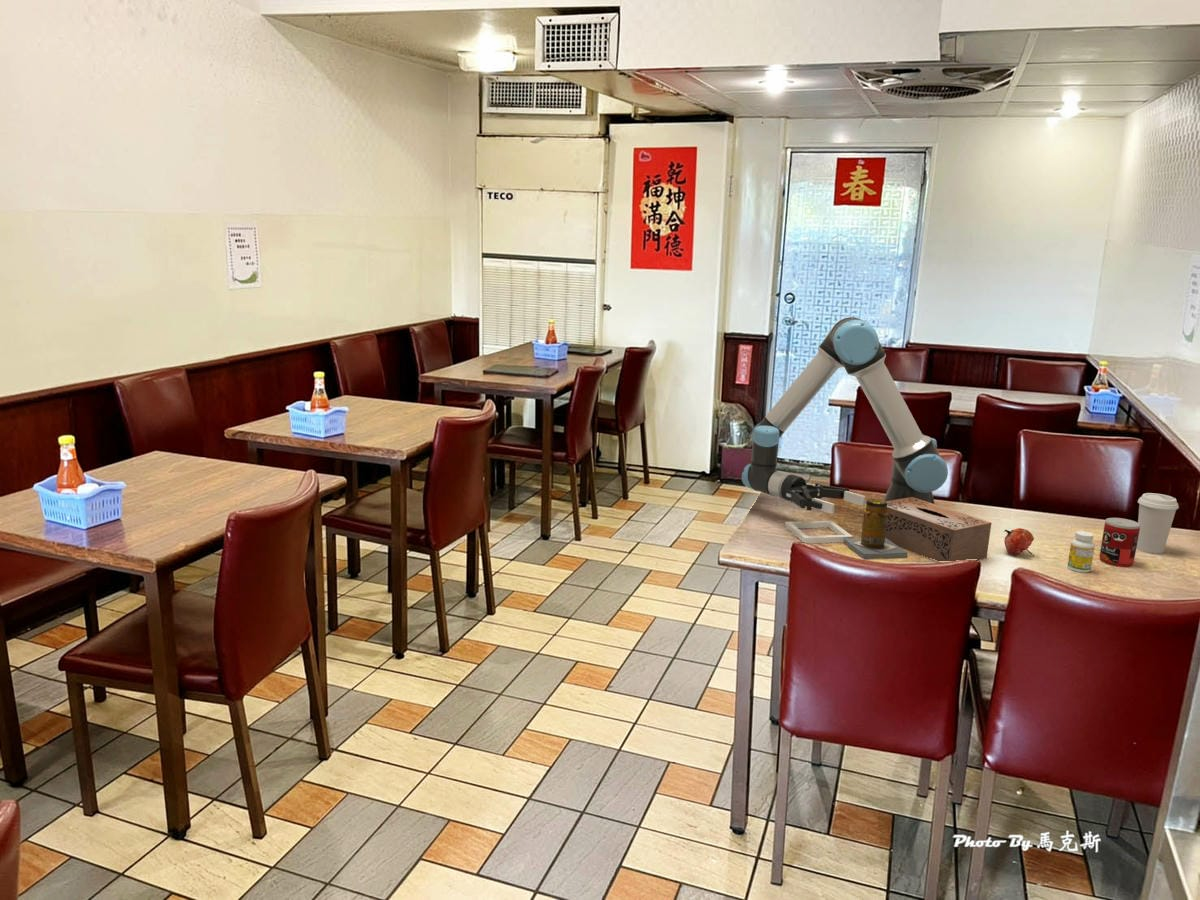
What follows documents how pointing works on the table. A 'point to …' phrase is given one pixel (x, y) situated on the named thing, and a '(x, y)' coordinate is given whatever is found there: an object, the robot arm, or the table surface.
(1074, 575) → the table surface
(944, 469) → the robot arm
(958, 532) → the tissue box cover
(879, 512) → the condiment
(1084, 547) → the supplement bottle
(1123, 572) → the table surface
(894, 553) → the charcoal tile
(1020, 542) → the pomegranate
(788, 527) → the pocket holder
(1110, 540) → the canned food
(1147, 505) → the coffee cup
